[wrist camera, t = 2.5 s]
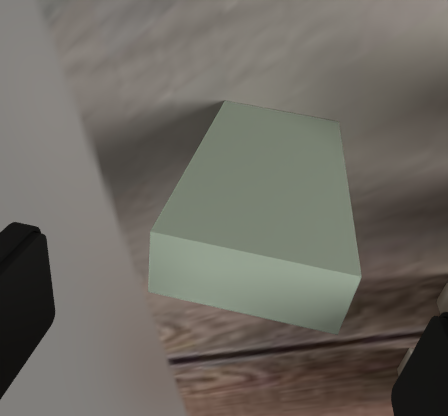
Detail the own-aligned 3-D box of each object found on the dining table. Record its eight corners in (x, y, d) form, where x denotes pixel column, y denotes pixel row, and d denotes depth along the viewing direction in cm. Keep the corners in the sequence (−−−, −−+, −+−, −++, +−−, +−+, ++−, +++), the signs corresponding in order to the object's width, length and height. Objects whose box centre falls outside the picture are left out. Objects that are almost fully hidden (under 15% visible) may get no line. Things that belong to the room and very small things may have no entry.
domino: (224, 100, 18) (150, 231, 10) (338, 121, 18) (361, 277, 9) (219, 142, 19) (148, 291, 11) (326, 163, 19) (337, 334, 11)
